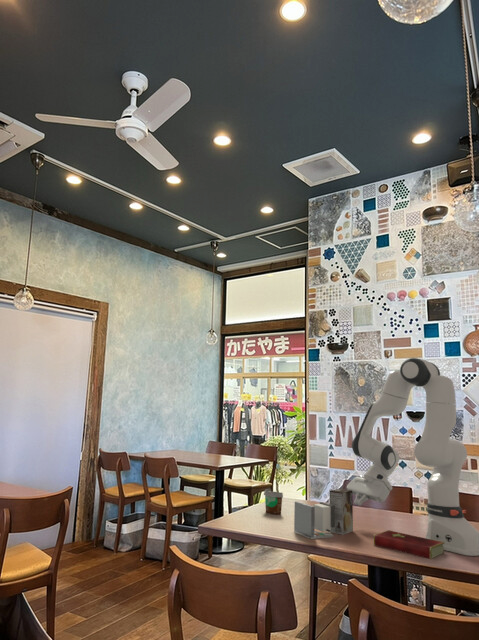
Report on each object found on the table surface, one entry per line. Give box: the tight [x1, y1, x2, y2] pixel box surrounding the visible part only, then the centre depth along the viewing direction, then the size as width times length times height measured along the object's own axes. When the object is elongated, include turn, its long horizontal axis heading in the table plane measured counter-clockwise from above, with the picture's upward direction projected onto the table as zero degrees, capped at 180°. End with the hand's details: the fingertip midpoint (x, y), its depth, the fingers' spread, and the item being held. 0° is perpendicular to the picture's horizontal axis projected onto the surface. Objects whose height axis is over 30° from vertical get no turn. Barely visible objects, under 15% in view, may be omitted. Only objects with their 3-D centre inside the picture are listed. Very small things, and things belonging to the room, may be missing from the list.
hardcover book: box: [373, 530, 444, 560], centre depth 164 cm, size 12×21×4 cm, turn 46°
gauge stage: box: [312, 501, 335, 533], centre depth 181 cm, size 9×5×10 cm, turn 28°
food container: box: [263, 488, 284, 516], centre depth 216 cm, size 12×6×10 cm, turn 25°
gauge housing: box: [293, 501, 334, 540], centre depth 179 cm, size 11×10×12 cm
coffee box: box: [329, 488, 354, 536], centre depth 186 cm, size 9×6×16 cm
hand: (356, 503), depth 191 cm, fingers closed
